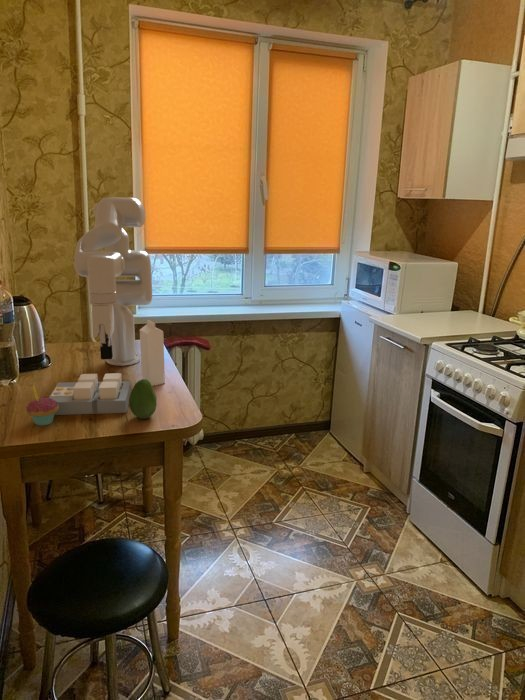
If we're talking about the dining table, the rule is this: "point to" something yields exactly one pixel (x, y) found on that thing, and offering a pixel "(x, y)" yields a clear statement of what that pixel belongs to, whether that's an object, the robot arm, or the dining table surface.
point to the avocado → (142, 399)
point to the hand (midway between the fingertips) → (106, 358)
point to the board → (94, 406)
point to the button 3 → (113, 378)
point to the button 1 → (89, 379)
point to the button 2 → (83, 391)
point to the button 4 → (109, 390)
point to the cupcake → (42, 409)
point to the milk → (152, 354)
